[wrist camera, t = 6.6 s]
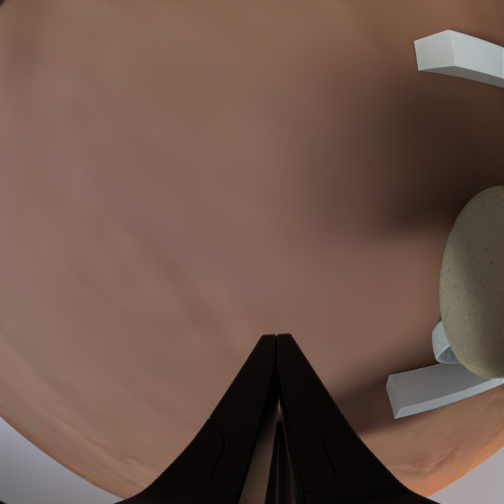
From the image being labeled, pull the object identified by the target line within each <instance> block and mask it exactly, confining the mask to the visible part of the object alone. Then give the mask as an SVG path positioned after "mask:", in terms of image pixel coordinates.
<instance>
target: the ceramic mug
mask: <svg viewBox="0 0 504 504" xmlns="http://www.w3.org/2000/svg"><path fill="white" fill-rule="evenodd" d="M439 299H440V312H441V318H442V319H441V320H440V321H439V322H438V323H437V325H436V327H435V328H434V330H433V332H432V344H433V351H434V355H435V358H436V360H437V361H438V362H440V363H445V364H456V363H461V364H462V365H463V366H465V367H466V368H467V369H468V370H469V371H470V372H472V373H474V374H476V375H478V376H482V377H486V378H491V379H504V185H500V186H493V187H490V188H487V189H485V190H483V191H481V192H480V193H478V194H476V195H475V196H474V197H473V198H472V199H471V200H470V201H469V202H468V203H467V204H466V205H465V207H464V208H463V209H462V210H461V212H460V214H459V215H458V217H457V218H456V221H455V223H454V225H453V227H452V230H451V232H450V234H449V236H448V239H447V242H446V245H445V250H444V255H443V259H442V264H441V270H440V284H439Z"/></svg>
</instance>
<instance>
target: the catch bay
mask: <svg viewBox="0 0 504 504" xmlns="http://www.w3.org/2000/svg"><path fill="white" fill-rule="evenodd" d="M414 45H415V51H416V57H417V65H418V71H426V72H432V73H439V74H445V75H450V76H456V77H461V78H465V79H470V80H474V81H479V82H483V83H487V84H490V85H494V86H498V87H501V88H504V48H503V47H501V46H498V45H495V44H493V43H490V42H487V41H484V40H481V39H478V38H475V37H472V36H469V35H465V34H462V33H458V32H455V31H451V30H446V31H443V32H440V33H437V34H434V35H431V36H428V37H425V38H422V39H419V40H416V41H414ZM503 383H504V379H491V378H486V377H482V376H478V375H476V374H474V373H472V372H470V371H469V370H468V369H467V368H466V367H465V366H463V365H462V364H461V363H456V364H445V363H440V364H436V365H432V366H428V367H424V368H419V369H415V370H410V371H406V372H401V373H396V374H391V375H389V377H388V381H387V384H386V389H387V393H388V396H389V400H390V403H391V407H392V410H393V414H394V418H395V419H396V418H400V417H405V416H409V415H413V414H417V413H420V412H424V411H428V410H431V409H434V408H438V407H441V406H444V405H447V404H450V403H454V402H456V401H459V400H462V399H465V398H468V397H471V396H473V395H476V394H479V393H481V392H484V391H486V390H489V389H491V388H494V387H496V386H498V385H501V384H503Z"/></svg>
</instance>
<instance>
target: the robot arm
mask: <svg viewBox="0 0 504 504" xmlns="http://www.w3.org/2000/svg"><path fill="white" fill-rule="evenodd" d="M279 402H280V410H281V416H282V423H277V415H278V406H279ZM0 504H7V503H5V502H3V501H2V500H0ZM115 504H440V503H437V502H435V501H432V500H430V499H428V498H426V497H423V496H421V495H419V494H417V493H415V492H413V491H411V490H410V489H408V488H407V487H406V486H404V485H403V484H402V483H401V482H400V481H399V480H398V479H397V478H396V477H395V476H394V475H393V474H392V473H391V472H390V471H389V470H388V469H387V468H386V467H385V466H384V465H383V464H382V463H381V461H380V460H379V459H378V458H377V457H376V456H375V455H374V454H373V453H372V452H371V451H370V450H369V448H368V447H367V446H366V445H365V444H364V442H363V441H362V440H361V439H360V438H359V436H358V435H357V434H356V432H355V431H354V430H353V428H352V427H351V425H350V424H349V423H348V421H347V420H346V418H345V417H344V415H343V414H342V413H341V411H340V409H339V408H338V406H337V405H336V403H335V401H334V400H333V398H332V397H331V395H330V394H329V392H328V391H327V389H326V388H325V386H324V385H323V383H322V382H321V380H320V378H319V377H318V375H317V374H316V372H315V371H314V369H313V368H312V366H311V365H310V363H309V361H308V360H307V358H306V357H305V355H304V354H303V352H302V351H301V349H300V347H299V346H298V344H297V343H296V341H295V340H294V338H293V337H292V335H291V334H289V333H286V334H278V335H277V336H276V335H275V334H269V335H262V336H261V338H260V339H259V341H258V342H257V344H256V346H255V347H254V349H253V351H252V352H251V354H250V355H249V357H248V359H247V360H246V362H245V363H244V365H243V366H242V368H241V370H240V371H239V373H238V374H237V376H236V377H235V379H234V380H233V382H232V383H231V385H230V387H229V388H228V390H227V391H226V393H225V394H224V396H223V397H222V399H221V400H220V402H219V403H218V405H217V406H216V408H215V409H214V411H213V412H212V414H211V415H210V418H208V419H207V421H206V422H205V424H204V425H203V427H202V428H201V430H200V431H199V432H198V434H197V435H196V436H195V438H194V439H193V440H192V441H191V443H190V444H189V445H188V446H187V447H186V448H185V449H184V451H183V452H182V453H181V454H180V455H179V456H178V457H177V458H176V459H175V460H174V461H173V462H172V463H171V464H170V465H169V467H168V468H167V469H166V470H165V471H164V472H163V473H162V474H161V475H160V476H159V477H158V478H157V479H156V480H155V481H154V482H153V483H152V484H150V485H149V486H148V487H147V488H146V489H144V490H143V491H141V492H140V493H138V494H136V495H135V496H133V497H130V498H128V499H125V500H123V501H120V502H117V503H115Z"/></svg>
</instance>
